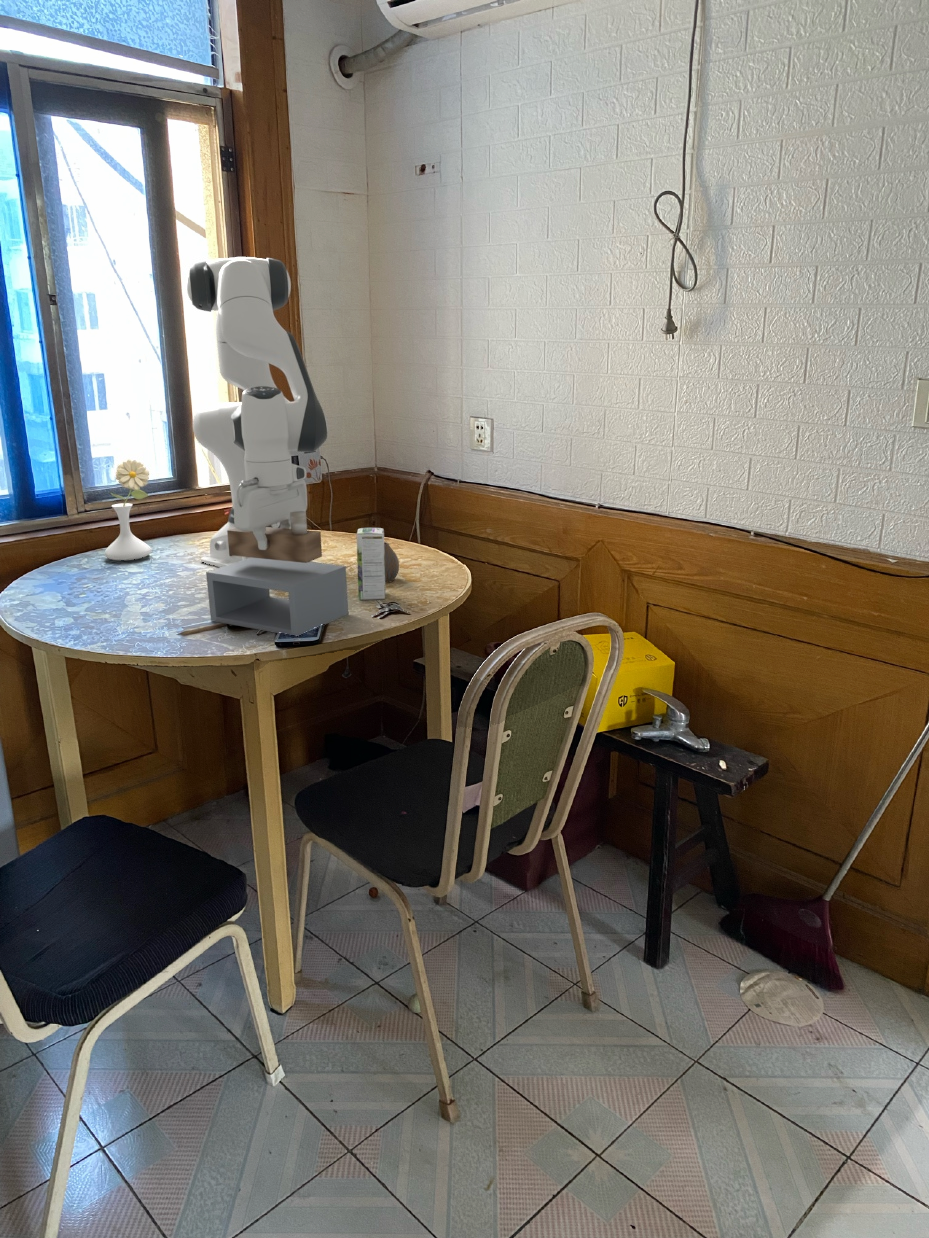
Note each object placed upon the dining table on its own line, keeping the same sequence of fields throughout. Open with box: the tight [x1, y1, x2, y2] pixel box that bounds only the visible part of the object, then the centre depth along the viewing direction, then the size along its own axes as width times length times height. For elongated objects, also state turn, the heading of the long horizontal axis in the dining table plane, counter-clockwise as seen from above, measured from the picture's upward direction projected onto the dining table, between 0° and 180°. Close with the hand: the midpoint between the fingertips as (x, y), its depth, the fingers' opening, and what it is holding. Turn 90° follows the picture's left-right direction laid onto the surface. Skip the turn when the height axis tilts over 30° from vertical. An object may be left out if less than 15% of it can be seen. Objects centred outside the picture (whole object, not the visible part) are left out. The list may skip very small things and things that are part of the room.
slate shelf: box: [205, 558, 349, 637], centre depth 182 cm, size 22×16×10 cm
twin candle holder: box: [227, 511, 323, 563], centre depth 178 cm, size 18×6×9 cm, turn 66°
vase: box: [384, 541, 400, 583], centre depth 208 cm, size 7×7×9 cm
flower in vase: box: [103, 459, 152, 561], centre depth 230 cm, size 13×11×25 cm
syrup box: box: [356, 527, 386, 601], centre depth 195 cm, size 6×6×14 cm
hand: (274, 545), depth 179 cm, fingers closed on twin candle holder, 6 cm apart
